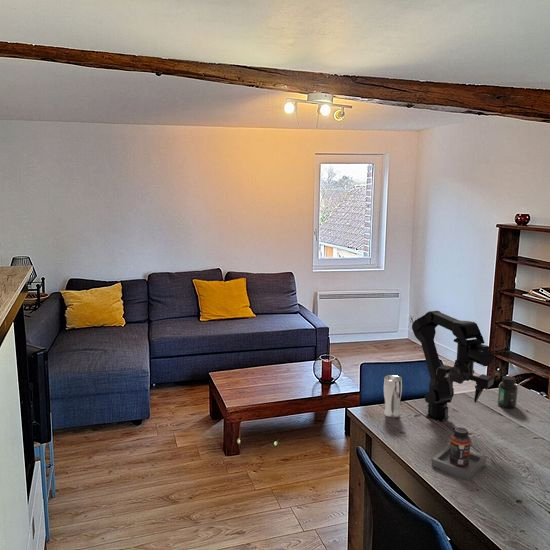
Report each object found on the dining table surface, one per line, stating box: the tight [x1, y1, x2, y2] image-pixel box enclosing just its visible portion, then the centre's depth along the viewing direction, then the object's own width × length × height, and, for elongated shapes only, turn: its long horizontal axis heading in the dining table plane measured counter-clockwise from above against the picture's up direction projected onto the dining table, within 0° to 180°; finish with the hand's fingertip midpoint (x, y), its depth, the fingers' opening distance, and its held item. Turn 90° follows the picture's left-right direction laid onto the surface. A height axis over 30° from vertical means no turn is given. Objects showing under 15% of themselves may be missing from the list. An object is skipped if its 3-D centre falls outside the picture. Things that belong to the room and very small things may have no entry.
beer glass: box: [383, 374, 403, 419], centre depth 197 cm, size 7×7×15 cm
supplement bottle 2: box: [497, 375, 519, 410], centre depth 205 cm, size 7×7×12 cm
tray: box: [431, 444, 487, 482], centre depth 161 cm, size 12×12×2 cm
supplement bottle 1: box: [449, 426, 471, 467], centre depth 161 cm, size 6×6×11 cm
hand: (462, 398), depth 181 cm, fingers open, 9 cm apart
